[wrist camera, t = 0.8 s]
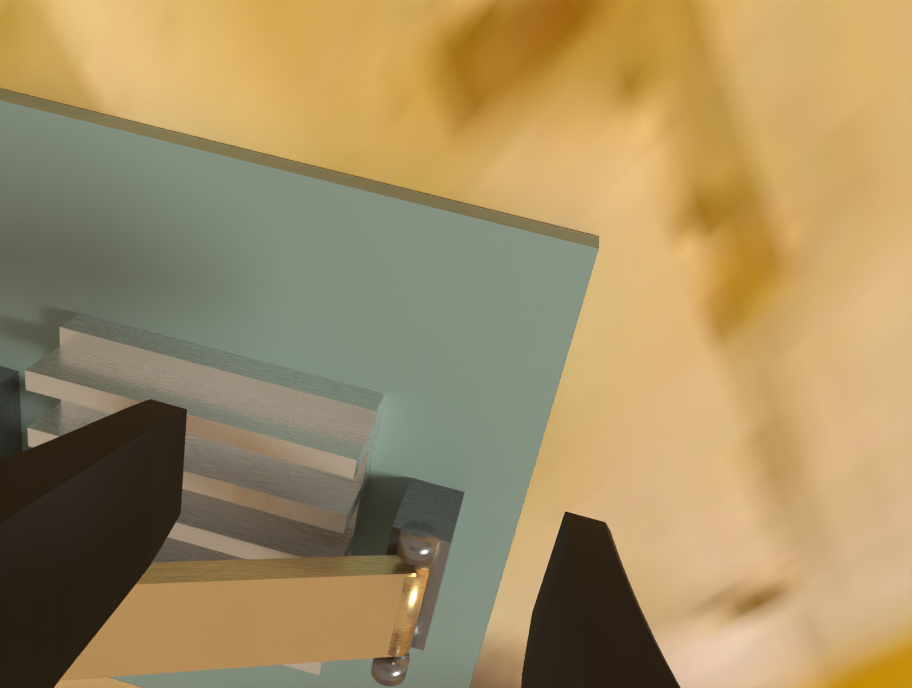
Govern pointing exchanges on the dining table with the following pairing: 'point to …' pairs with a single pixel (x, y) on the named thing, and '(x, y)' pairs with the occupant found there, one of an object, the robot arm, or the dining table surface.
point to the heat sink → (243, 453)
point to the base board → (307, 321)
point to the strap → (258, 615)
